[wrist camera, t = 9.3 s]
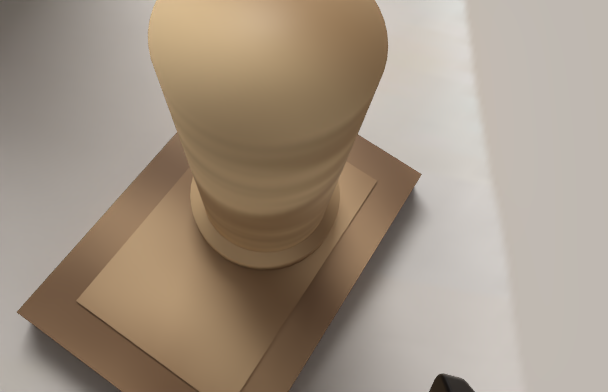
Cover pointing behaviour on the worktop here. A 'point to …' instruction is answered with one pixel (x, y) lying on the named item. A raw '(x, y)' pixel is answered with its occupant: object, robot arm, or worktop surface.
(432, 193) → the worktop surface
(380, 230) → the walnut board
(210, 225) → the wooden chess pawn
